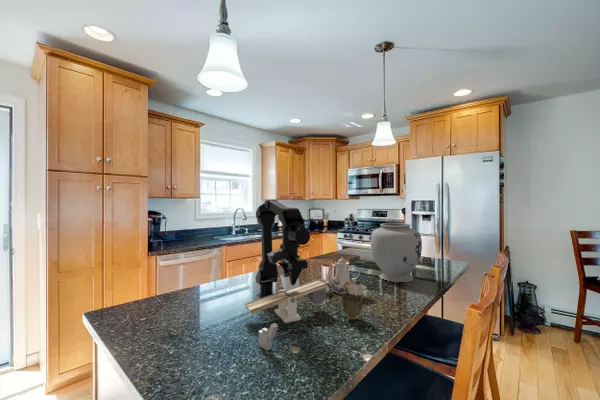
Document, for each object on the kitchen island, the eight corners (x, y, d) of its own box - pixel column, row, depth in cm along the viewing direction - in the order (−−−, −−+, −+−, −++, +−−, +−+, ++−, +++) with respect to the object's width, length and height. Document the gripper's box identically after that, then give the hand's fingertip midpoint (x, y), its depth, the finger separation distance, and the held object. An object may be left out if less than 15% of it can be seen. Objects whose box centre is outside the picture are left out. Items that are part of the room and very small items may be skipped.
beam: (248, 320, 104) (245, 303, 104) (319, 294, 116) (317, 279, 116) (253, 328, 98) (250, 310, 97) (328, 299, 110) (326, 283, 110)
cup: (363, 324, 99) (362, 300, 99) (341, 322, 100) (341, 299, 100) (362, 315, 106) (362, 294, 106) (342, 314, 107) (342, 292, 108)
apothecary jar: (431, 285, 143) (430, 225, 144) (377, 285, 144) (377, 225, 144) (411, 272, 170) (410, 221, 170) (366, 272, 171) (365, 222, 171)
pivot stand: (274, 311, 111) (274, 290, 111) (288, 309, 113) (288, 288, 113) (285, 323, 100) (285, 299, 100) (301, 320, 103) (300, 296, 103)
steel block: (282, 287, 109) (280, 274, 108) (294, 283, 111) (292, 270, 110) (287, 291, 104) (284, 277, 104) (299, 286, 106) (297, 273, 106)
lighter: (258, 345, 84) (258, 318, 85) (263, 343, 86) (262, 316, 86) (273, 354, 79) (273, 325, 80) (278, 352, 81) (278, 323, 81)
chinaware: (305, 298, 131) (304, 262, 129) (317, 284, 146) (316, 252, 145) (368, 306, 120) (367, 267, 119) (373, 290, 136) (372, 256, 134)
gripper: (262, 239, 113) (262, 279, 112) (278, 246, 96) (278, 293, 95) (288, 238, 117) (288, 276, 117) (308, 244, 100) (308, 289, 100)
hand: (290, 283), depth 107 cm, fingers closed on steel block, 5 cm apart
